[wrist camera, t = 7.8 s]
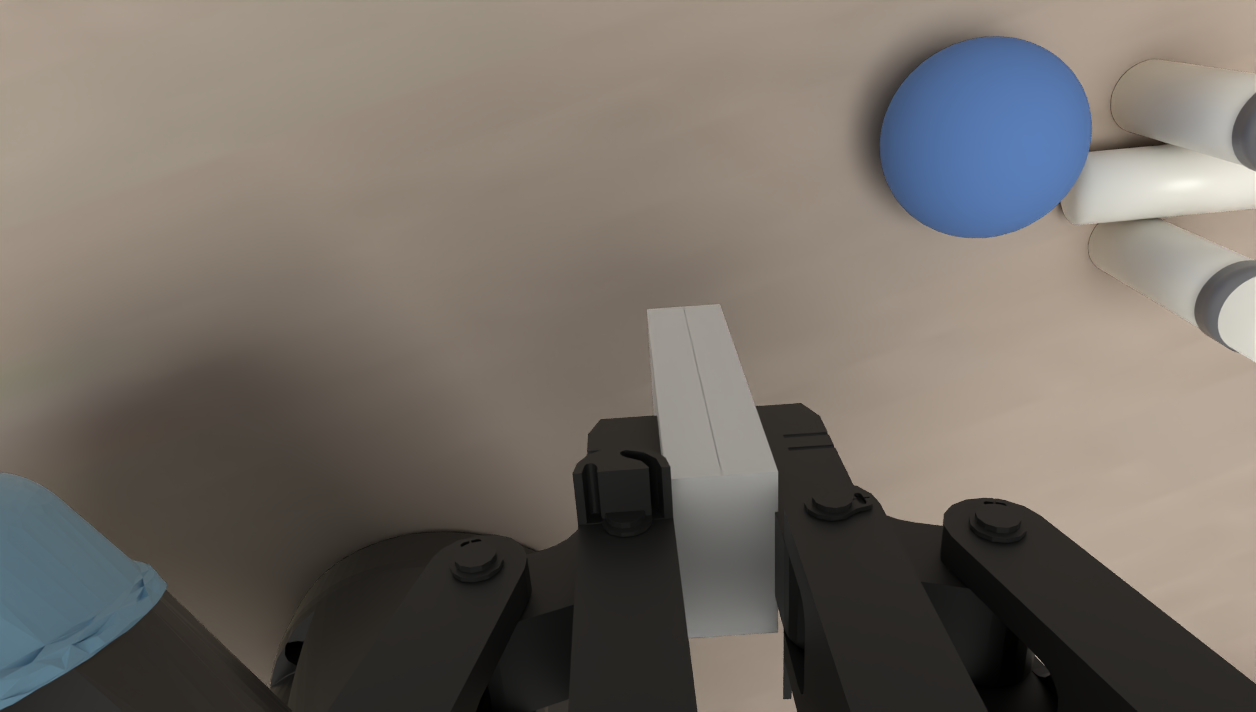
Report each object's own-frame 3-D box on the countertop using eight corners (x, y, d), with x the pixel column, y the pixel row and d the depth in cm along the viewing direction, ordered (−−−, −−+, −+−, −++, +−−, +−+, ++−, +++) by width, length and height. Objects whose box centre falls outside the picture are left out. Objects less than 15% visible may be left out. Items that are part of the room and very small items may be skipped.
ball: (1044, 205, 22) (850, 248, 26) (1135, 223, 26) (951, 258, 30) (1021, -22, 22) (833, 60, 27) (1114, 29, 26) (935, 93, 31)
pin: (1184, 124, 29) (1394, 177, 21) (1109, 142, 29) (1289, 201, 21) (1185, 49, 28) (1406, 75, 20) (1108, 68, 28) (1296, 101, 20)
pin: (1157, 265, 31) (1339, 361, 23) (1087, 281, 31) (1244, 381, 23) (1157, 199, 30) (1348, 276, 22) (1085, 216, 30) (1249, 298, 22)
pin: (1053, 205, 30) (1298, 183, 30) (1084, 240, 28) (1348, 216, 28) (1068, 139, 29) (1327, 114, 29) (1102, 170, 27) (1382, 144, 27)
